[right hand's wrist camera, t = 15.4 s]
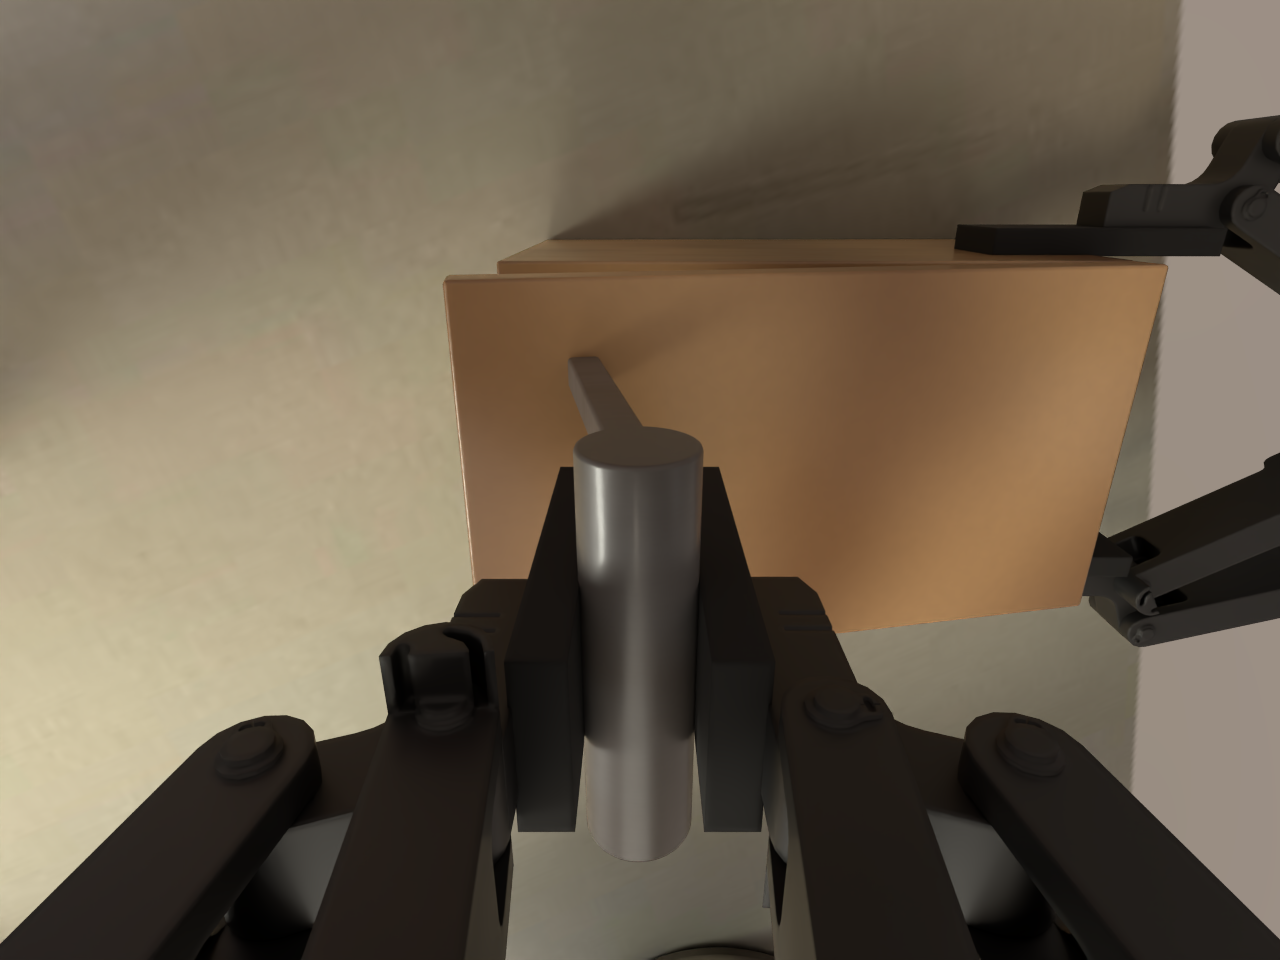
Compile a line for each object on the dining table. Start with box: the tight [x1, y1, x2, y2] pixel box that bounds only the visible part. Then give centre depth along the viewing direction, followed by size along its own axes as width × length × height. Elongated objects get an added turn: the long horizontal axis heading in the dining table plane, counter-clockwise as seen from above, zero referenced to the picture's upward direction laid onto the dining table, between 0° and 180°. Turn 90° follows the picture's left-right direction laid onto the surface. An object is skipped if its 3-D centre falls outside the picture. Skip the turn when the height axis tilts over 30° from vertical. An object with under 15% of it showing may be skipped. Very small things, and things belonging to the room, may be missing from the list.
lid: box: [443, 261, 1168, 862], centre depth 15 cm, size 17×10×8 cm, turn 90°
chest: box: [497, 239, 1132, 274], centre depth 25 cm, size 17×10×10 cm, turn 90°
